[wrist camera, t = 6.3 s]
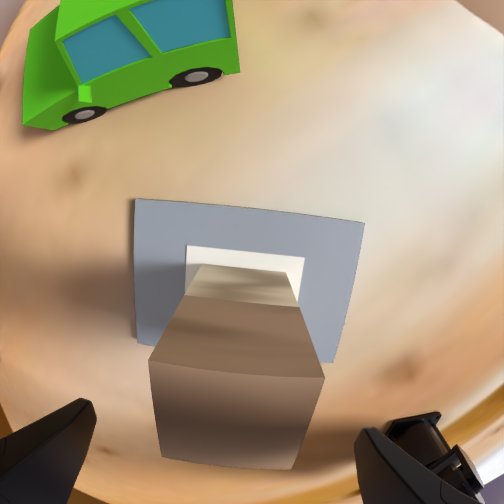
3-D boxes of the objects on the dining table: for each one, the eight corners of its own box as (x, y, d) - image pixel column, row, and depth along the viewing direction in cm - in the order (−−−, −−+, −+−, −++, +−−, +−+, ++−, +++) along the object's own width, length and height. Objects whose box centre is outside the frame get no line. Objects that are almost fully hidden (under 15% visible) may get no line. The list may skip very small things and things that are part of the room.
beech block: (285, 272, 17) (298, 306, 12) (274, 343, 18) (281, 392, 13) (202, 263, 17) (183, 295, 12) (199, 335, 18) (183, 382, 13)
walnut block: (281, 392, 13) (291, 469, 9) (184, 382, 13) (161, 456, 8) (299, 307, 12) (325, 377, 7) (184, 294, 12) (148, 360, 7)
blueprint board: (361, 222, 17) (365, 223, 16) (331, 358, 19) (333, 363, 19) (139, 198, 17) (134, 199, 16) (140, 339, 19) (137, 343, 18)
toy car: (60, 40, 14) (-16, -4, 4) (219, -18, 13) (202, -113, 3) (61, 150, 16) (-47, 143, 6) (243, 93, 15) (235, -1, 6)
